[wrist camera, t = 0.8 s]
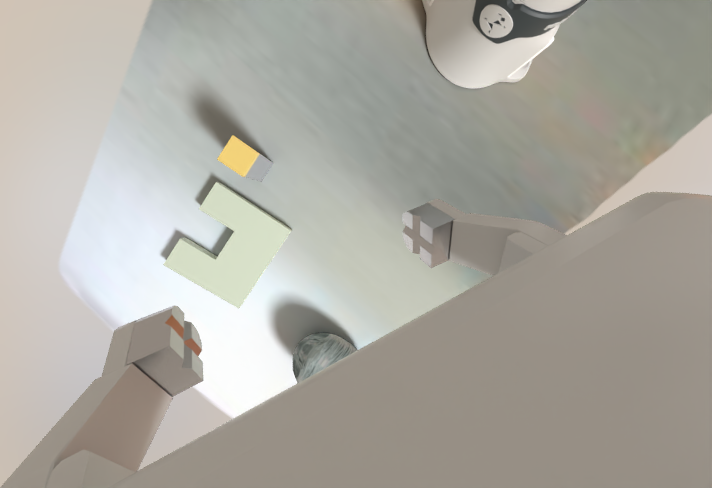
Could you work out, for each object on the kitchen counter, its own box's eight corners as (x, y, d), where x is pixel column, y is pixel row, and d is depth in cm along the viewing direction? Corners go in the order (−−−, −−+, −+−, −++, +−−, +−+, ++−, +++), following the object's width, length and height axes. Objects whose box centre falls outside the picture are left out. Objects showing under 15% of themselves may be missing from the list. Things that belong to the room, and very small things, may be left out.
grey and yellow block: (254, 149, 39) (232, 134, 30) (273, 163, 40) (258, 152, 31) (241, 168, 39) (217, 159, 31) (261, 181, 40) (242, 176, 31)
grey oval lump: (268, 363, 41) (296, 394, 33) (310, 312, 45) (344, 328, 37) (325, 406, 47) (360, 441, 38) (357, 357, 51) (396, 380, 42)
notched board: (220, 182, 39) (216, 181, 38) (292, 229, 41) (290, 230, 40) (169, 262, 40) (163, 264, 39) (242, 304, 42) (238, 308, 41)
